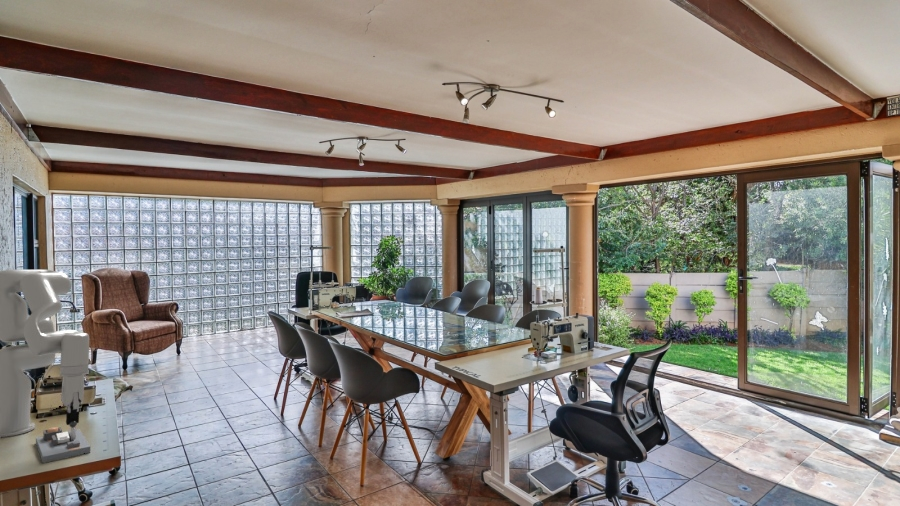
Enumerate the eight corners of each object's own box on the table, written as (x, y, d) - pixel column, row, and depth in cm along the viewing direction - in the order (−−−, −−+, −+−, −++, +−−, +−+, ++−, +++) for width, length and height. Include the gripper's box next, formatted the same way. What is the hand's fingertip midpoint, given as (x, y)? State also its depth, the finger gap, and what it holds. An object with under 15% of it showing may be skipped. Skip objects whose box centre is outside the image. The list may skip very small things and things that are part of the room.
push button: (46, 437, 163) (46, 428, 163) (57, 435, 165) (57, 426, 165) (47, 439, 161) (47, 430, 161) (58, 437, 163) (58, 428, 163)
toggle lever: (69, 440, 156) (68, 421, 158) (76, 438, 158) (76, 420, 159) (70, 440, 155) (69, 421, 156) (77, 438, 156) (77, 420, 158)
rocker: (56, 436, 160) (56, 433, 160) (67, 434, 162) (67, 431, 162) (57, 443, 157) (58, 440, 157) (69, 441, 159) (69, 437, 159)
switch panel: (35, 443, 163) (36, 430, 163) (79, 434, 171) (79, 422, 172) (42, 463, 148) (43, 448, 148) (90, 452, 156) (90, 438, 156)
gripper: (57, 367, 162) (55, 420, 161) (63, 375, 151) (61, 432, 151) (84, 364, 167) (82, 415, 167) (92, 372, 157) (90, 426, 156)
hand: (72, 423), depth 159 cm, fingers closed
